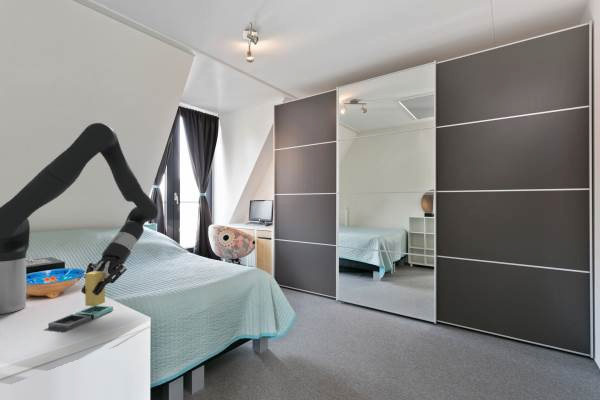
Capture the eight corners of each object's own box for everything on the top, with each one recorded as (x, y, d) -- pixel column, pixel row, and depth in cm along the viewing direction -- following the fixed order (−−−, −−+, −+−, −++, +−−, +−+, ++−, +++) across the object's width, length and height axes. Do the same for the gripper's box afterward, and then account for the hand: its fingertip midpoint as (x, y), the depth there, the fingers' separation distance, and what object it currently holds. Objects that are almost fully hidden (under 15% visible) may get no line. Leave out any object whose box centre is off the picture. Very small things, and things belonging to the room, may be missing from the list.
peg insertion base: (42, 334, 83) (42, 325, 83) (96, 311, 99) (96, 304, 99) (63, 336, 81) (63, 328, 81) (114, 313, 98) (114, 306, 98)
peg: (85, 305, 93) (85, 273, 93) (95, 301, 97) (95, 270, 97) (94, 306, 92) (94, 274, 92) (104, 302, 96) (104, 271, 96)
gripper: (97, 241, 103) (62, 286, 91) (131, 242, 100) (100, 289, 88) (109, 253, 108) (78, 297, 97) (143, 254, 105) (115, 300, 94)
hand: (89, 293), depth 93 cm, fingers closed on peg, 3 cm apart
